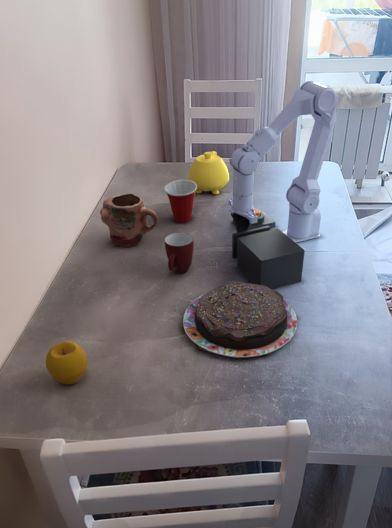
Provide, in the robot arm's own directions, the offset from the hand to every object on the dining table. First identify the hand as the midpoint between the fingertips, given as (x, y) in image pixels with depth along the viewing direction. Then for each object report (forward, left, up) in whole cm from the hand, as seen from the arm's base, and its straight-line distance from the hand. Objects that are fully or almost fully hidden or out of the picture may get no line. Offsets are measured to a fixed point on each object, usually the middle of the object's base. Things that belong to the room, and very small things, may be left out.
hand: (241, 235), depth 145 cm
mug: (+22, +5, -5) cm, 23 cm away
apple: (+59, +35, -5) cm, 69 cm away
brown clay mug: (+29, -19, -5) cm, 35 cm away
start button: (-11, -12, -1) cm, 17 cm away
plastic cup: (+9, -26, -5) cm, 28 cm away
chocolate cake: (+17, +33, -5) cm, 37 cm away
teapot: (-11, -48, -5) cm, 50 cm away
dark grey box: (0, +9, -3) cm, 10 cm away
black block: (0, +17, -4) cm, 17 cm away
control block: (-11, -12, -4) cm, 17 cm away
